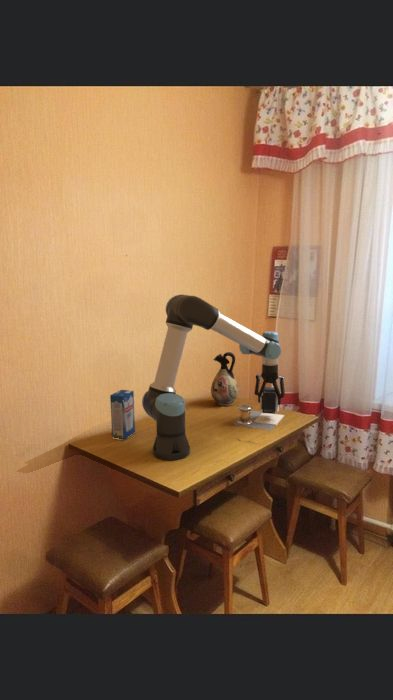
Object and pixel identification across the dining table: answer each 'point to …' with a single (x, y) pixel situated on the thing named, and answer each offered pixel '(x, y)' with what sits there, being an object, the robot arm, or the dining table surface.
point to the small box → (269, 400)
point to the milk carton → (122, 414)
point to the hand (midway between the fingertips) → (269, 409)
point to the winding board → (263, 420)
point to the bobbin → (244, 414)
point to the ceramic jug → (224, 382)
